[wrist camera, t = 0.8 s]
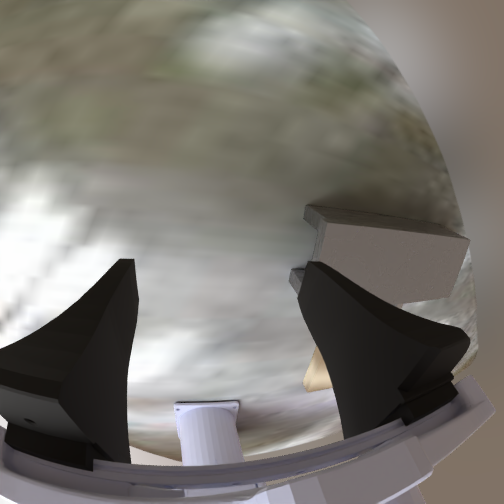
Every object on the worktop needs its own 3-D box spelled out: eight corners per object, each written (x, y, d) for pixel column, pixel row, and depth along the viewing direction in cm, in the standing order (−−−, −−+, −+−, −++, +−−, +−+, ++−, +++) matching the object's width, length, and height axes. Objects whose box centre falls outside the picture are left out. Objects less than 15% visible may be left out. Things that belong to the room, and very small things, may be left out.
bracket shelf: (413, 304, 31) (435, 325, 26) (277, 317, 26) (294, 350, 22) (441, 224, 26) (470, 240, 22) (300, 204, 22) (327, 222, 17)
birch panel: (352, 370, 34) (359, 381, 32) (301, 379, 32) (307, 392, 30) (378, 313, 30) (388, 323, 28) (322, 319, 28) (331, 331, 26)
